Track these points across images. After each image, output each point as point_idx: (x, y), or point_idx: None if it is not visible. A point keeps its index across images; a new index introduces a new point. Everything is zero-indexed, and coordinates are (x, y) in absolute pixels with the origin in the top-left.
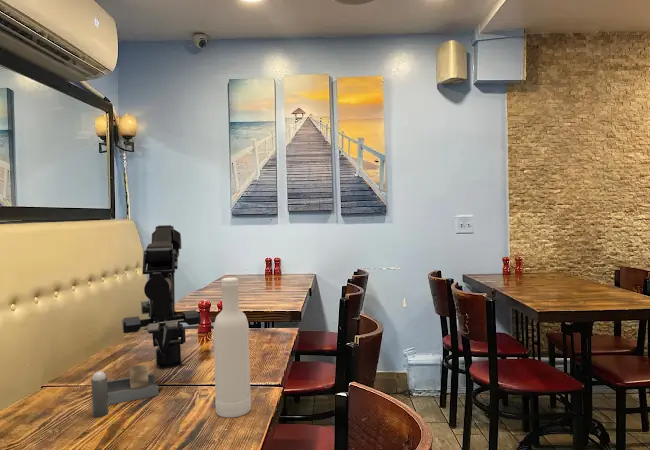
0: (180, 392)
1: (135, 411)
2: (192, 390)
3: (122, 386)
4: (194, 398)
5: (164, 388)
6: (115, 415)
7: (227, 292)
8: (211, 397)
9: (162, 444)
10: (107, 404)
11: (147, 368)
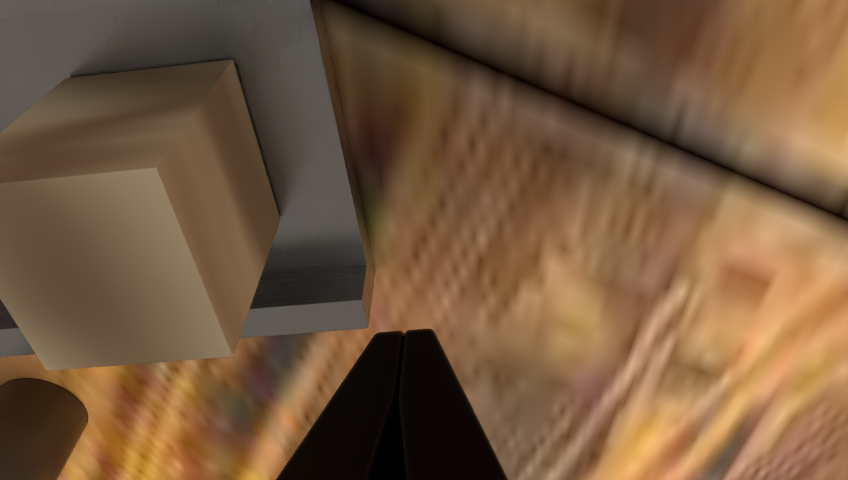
0: (549, 271)
1: (251, 436)
2: (648, 267)
3: None
4: (619, 394)
5: (423, 134)
6: (144, 444)
7: None
8: (726, 415)
9: None
10: (60, 468)
11: (223, 338)
